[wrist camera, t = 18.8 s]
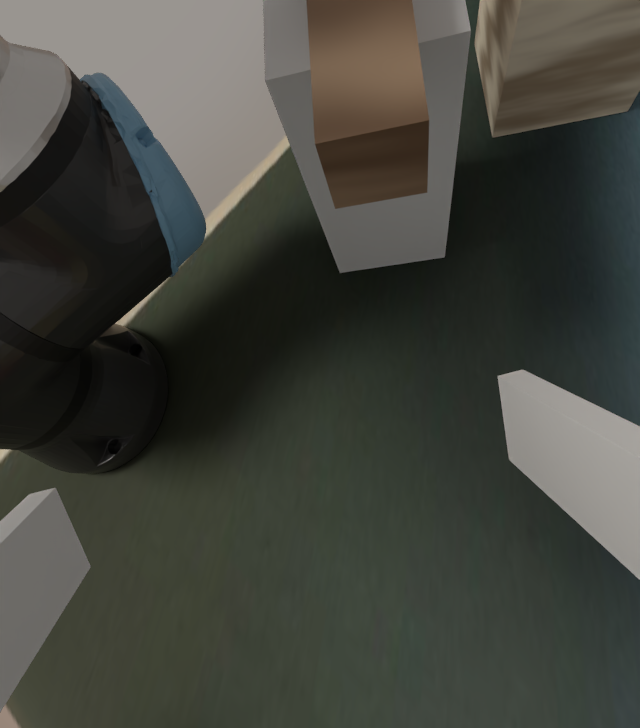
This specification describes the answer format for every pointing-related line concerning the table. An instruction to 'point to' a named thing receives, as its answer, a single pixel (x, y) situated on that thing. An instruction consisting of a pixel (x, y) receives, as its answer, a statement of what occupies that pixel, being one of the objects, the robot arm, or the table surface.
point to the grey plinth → (444, 102)
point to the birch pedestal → (556, 61)
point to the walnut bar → (368, 99)
